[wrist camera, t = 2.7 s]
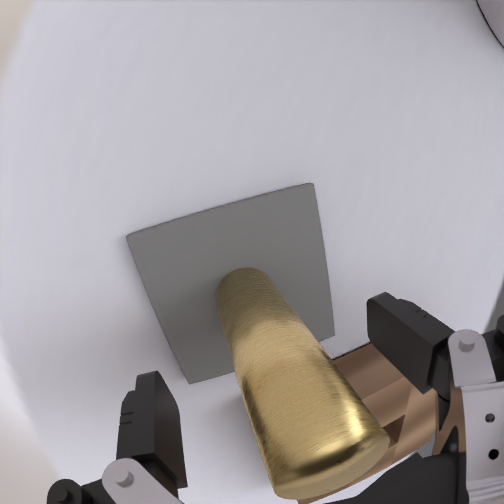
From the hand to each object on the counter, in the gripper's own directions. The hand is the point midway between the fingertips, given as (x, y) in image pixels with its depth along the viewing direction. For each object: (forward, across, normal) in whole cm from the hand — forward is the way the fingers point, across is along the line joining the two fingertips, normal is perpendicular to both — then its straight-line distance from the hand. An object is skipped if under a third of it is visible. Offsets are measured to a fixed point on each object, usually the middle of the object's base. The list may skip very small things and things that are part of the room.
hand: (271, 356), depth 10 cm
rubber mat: (+5, 0, 0) cm, 5 cm away
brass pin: (+5, 0, 0) cm, 5 cm away
